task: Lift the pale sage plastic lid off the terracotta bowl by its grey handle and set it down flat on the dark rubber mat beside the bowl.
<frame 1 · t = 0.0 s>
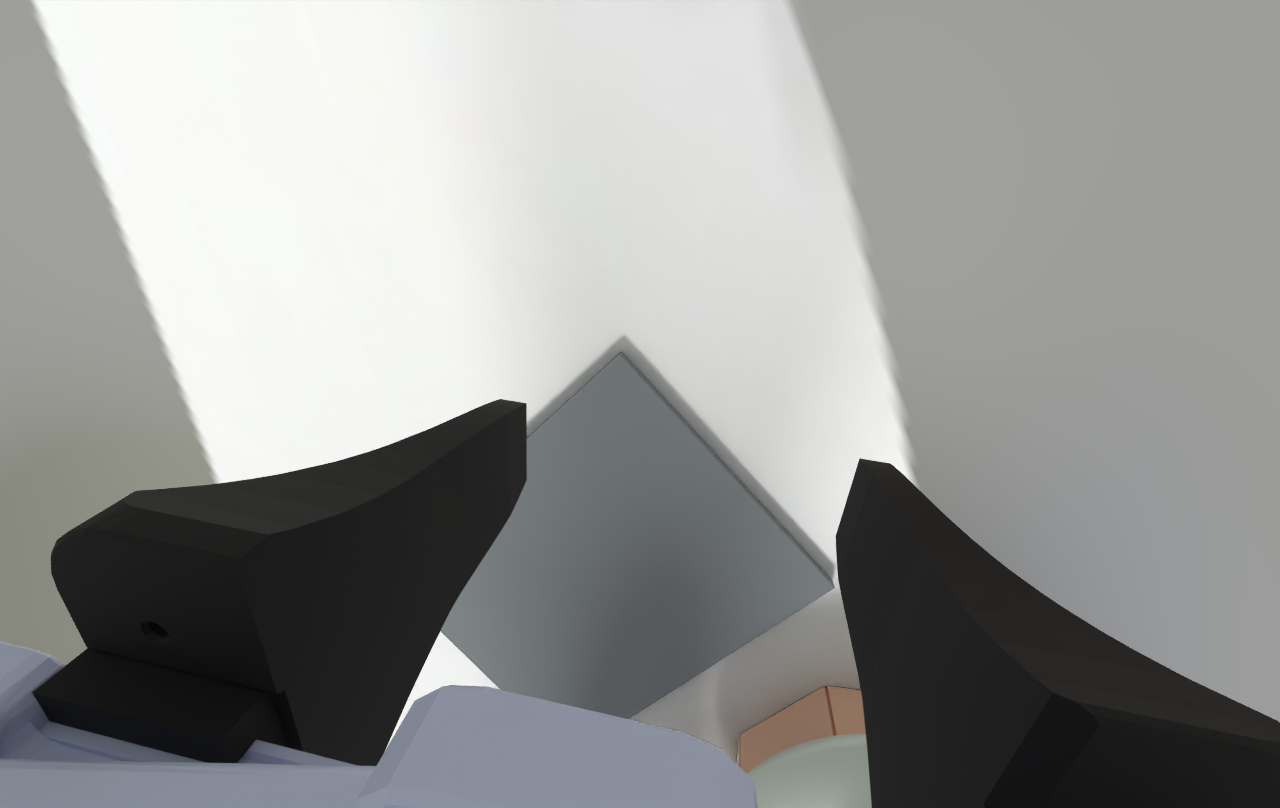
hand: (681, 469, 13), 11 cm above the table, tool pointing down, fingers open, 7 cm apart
bowl: (864, 797, 27), on the table
mat: (593, 573, 26), on the table
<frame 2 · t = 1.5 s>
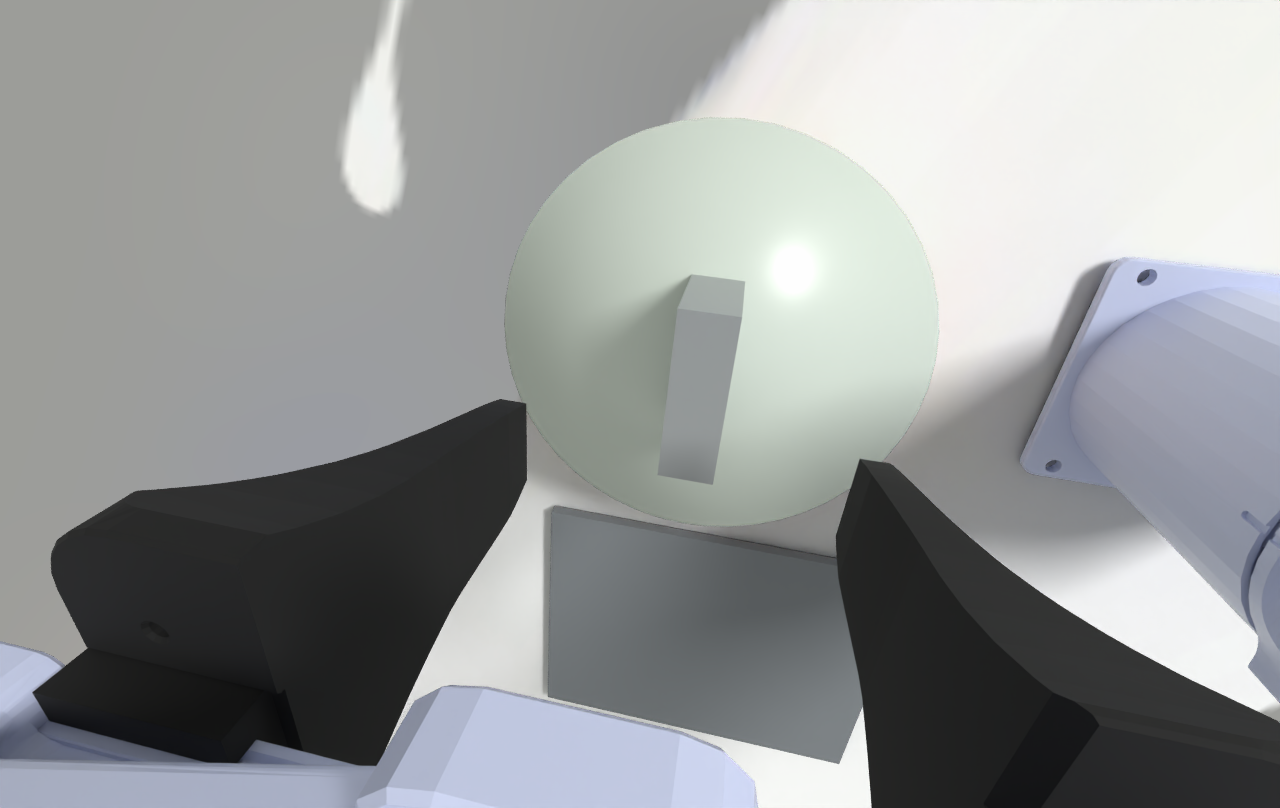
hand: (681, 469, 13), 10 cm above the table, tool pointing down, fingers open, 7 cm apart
mat: (706, 638, 29), on the table
lid: (708, 348, 19), point 3 cm above the table, touching bowl
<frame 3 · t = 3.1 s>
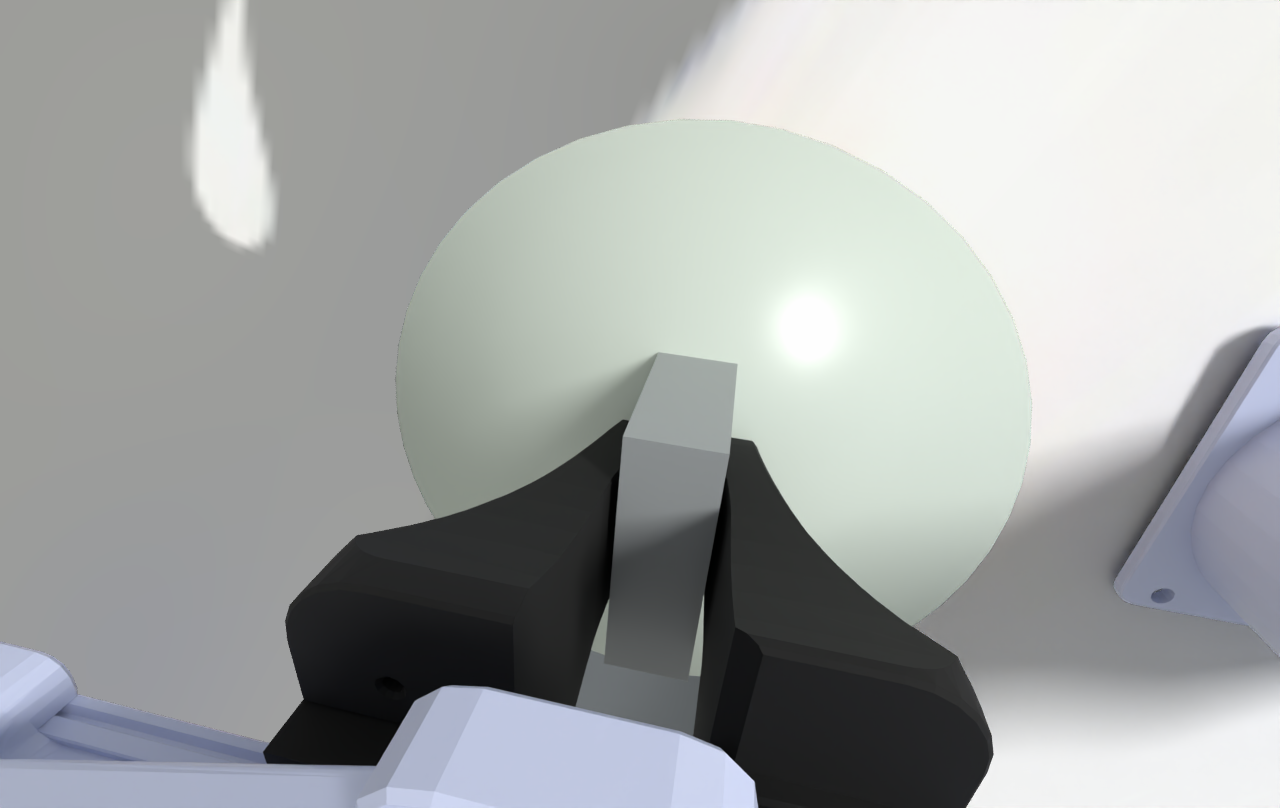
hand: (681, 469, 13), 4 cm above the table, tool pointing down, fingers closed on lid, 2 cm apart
mat: (693, 767, 23), on the table
lid: (686, 448, 13), point 3 cm above the table, touching bowl, gripper
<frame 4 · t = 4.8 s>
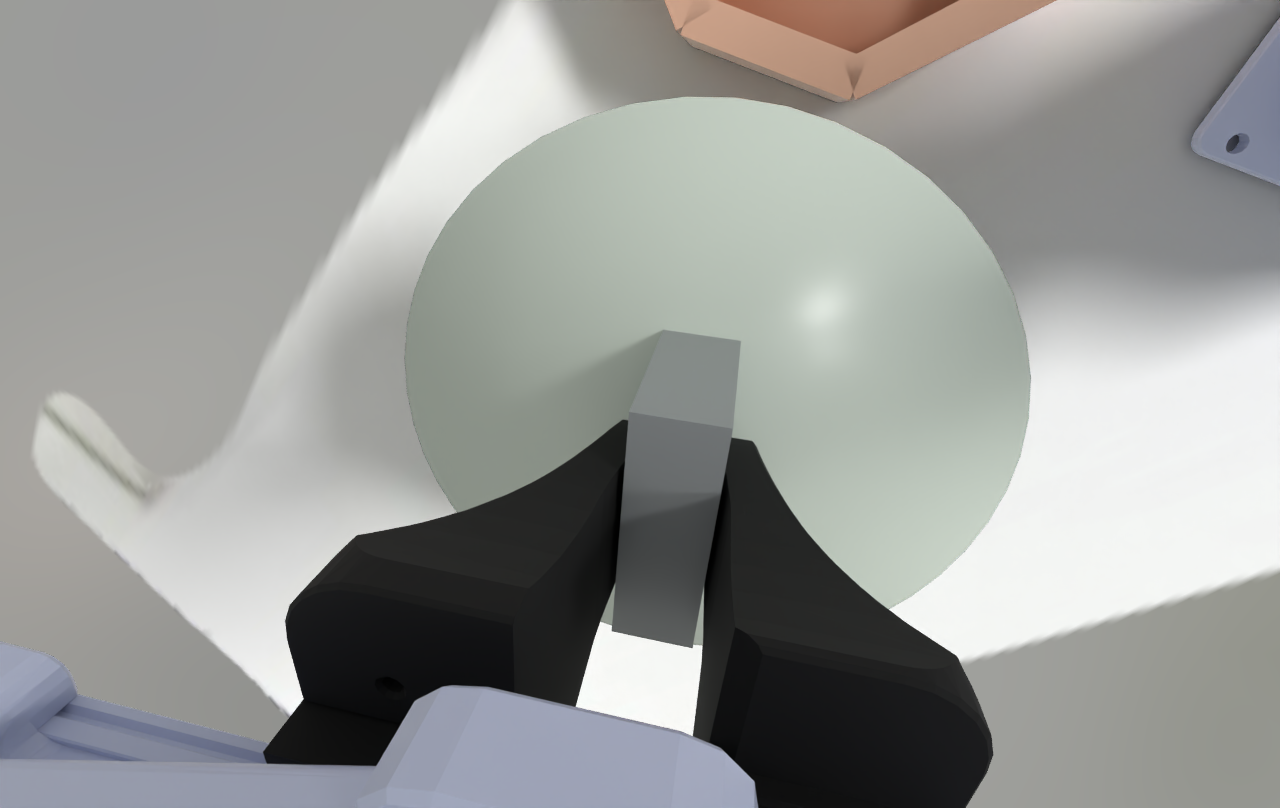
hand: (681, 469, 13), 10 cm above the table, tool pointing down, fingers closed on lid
lid: (690, 424, 14), point 9 cm above the table, touching gripper
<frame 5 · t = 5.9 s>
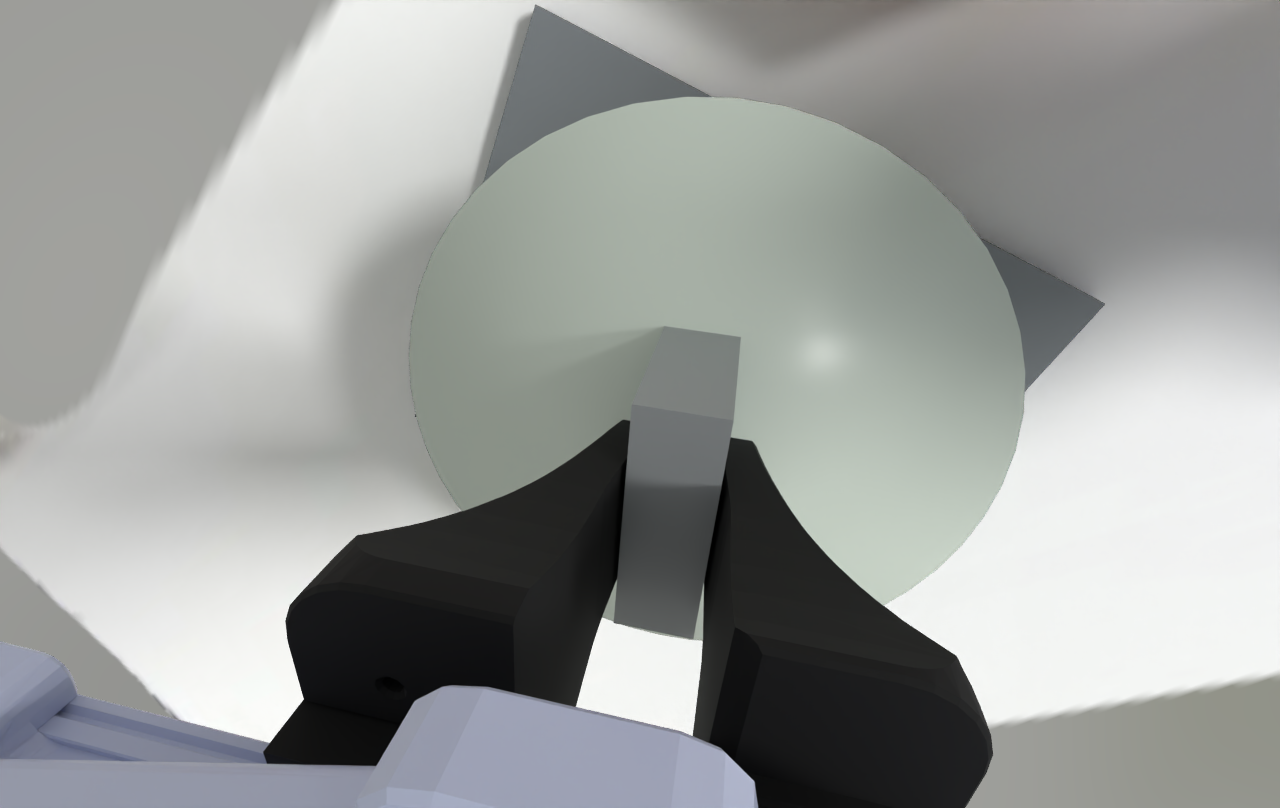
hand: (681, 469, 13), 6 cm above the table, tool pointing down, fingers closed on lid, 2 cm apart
mat: (706, 362, 18), on the table
lid: (690, 420, 14), point 4 cm above the table, touching gripper
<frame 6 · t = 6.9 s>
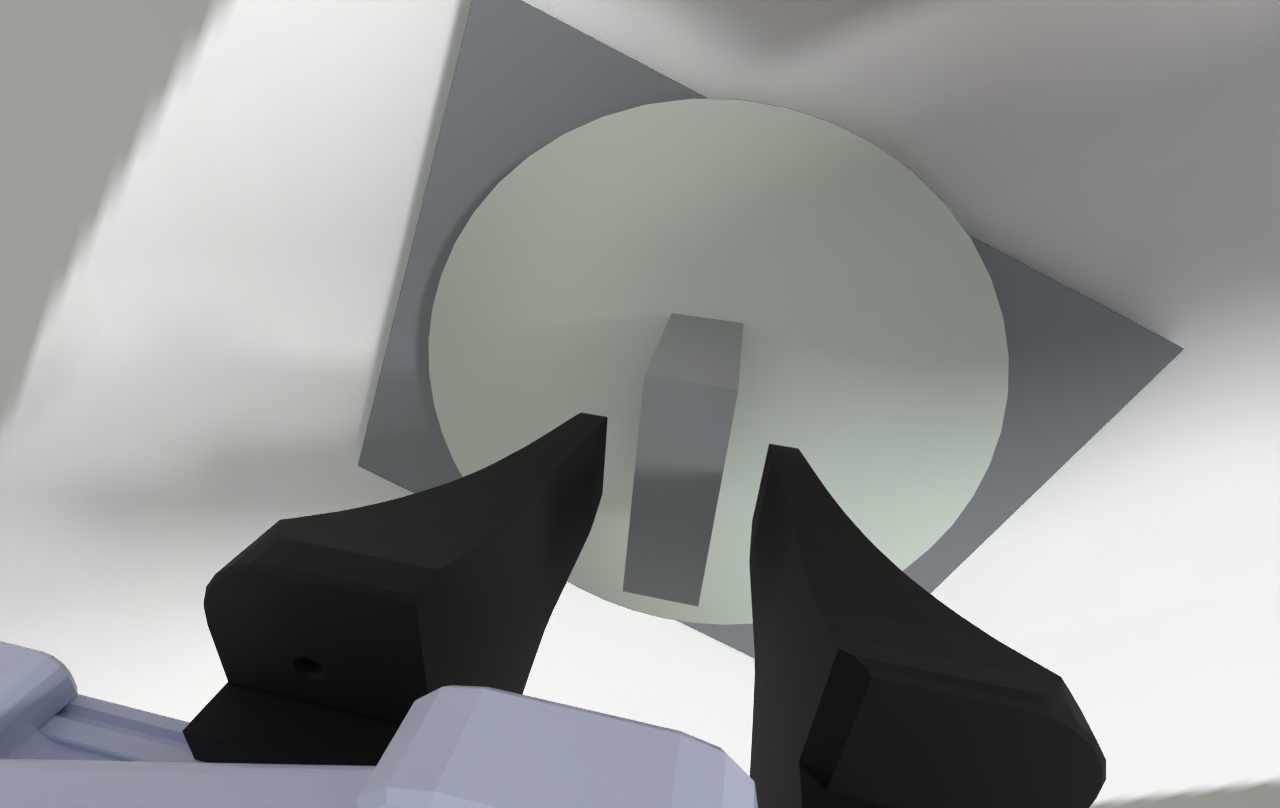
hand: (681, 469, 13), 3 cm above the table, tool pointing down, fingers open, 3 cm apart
mat: (694, 409, 15), on the table
lid: (695, 405, 15), resting on mat
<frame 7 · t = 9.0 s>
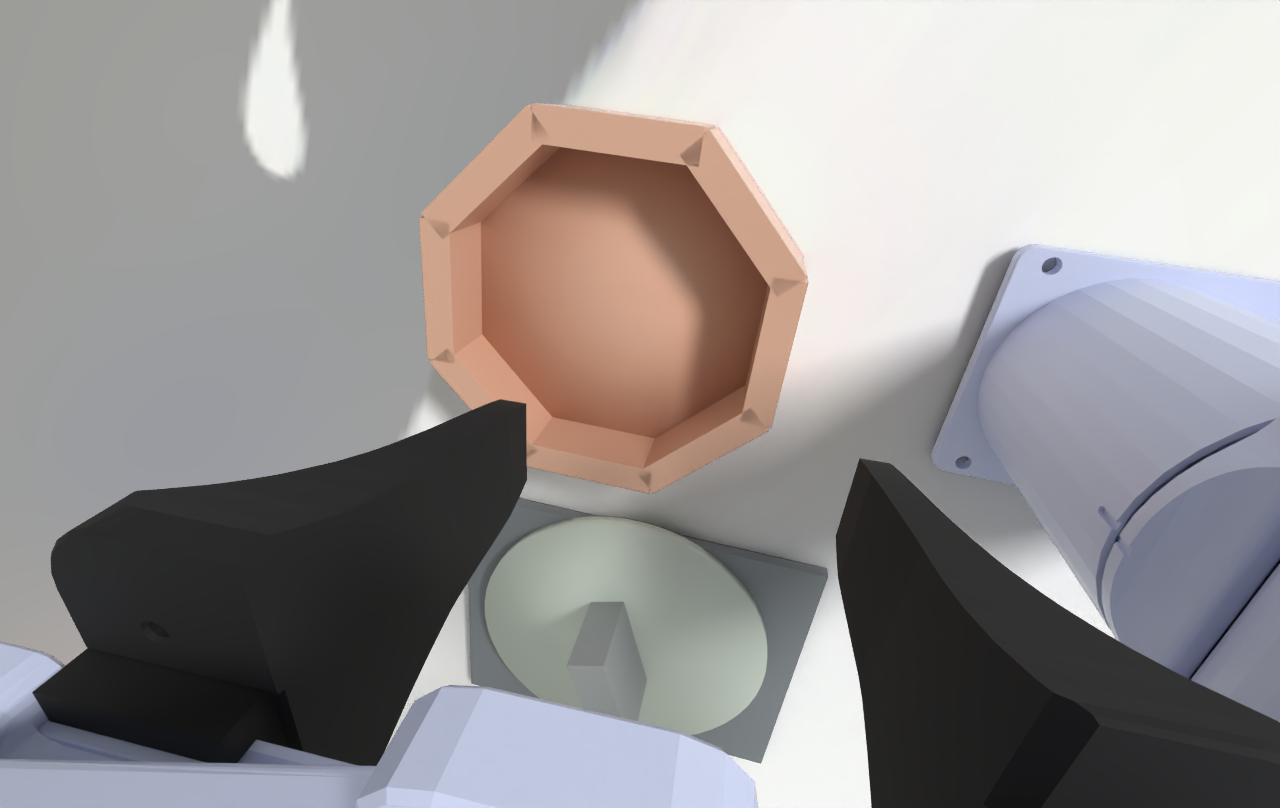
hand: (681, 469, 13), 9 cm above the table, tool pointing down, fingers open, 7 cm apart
bowl: (620, 298, 21), on the table
mat: (626, 629, 28), on the table
lid: (622, 632, 28), resting on mat
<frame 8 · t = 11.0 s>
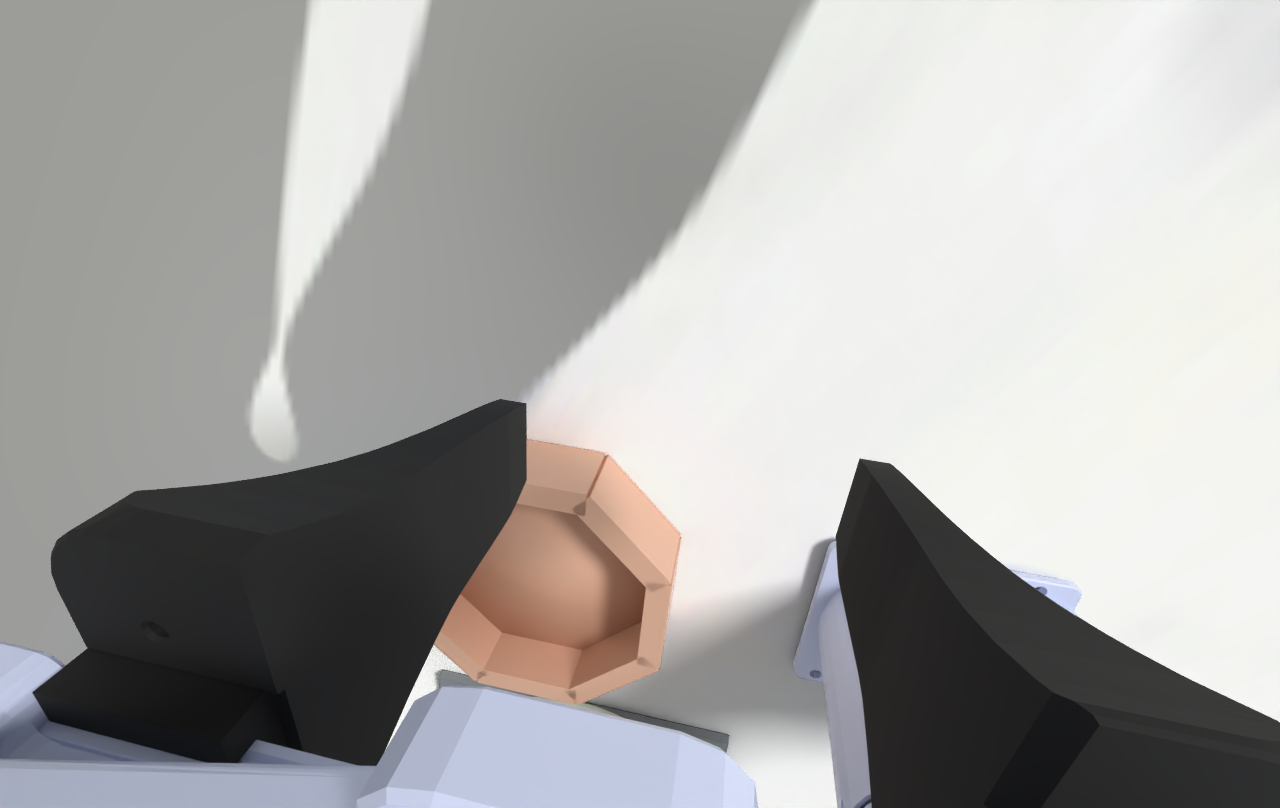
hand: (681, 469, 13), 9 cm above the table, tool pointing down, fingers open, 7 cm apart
bowl: (548, 552, 27), on the table
mat: (577, 772, 34), on the table
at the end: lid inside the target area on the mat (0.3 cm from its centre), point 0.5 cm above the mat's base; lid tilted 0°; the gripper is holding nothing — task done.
